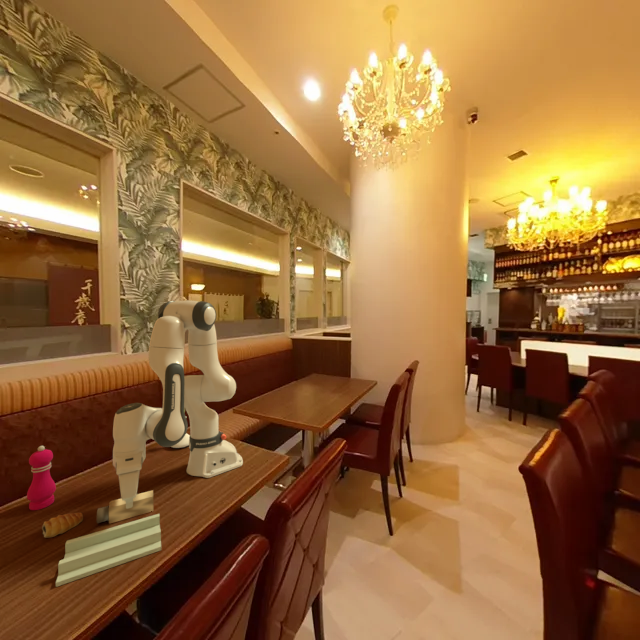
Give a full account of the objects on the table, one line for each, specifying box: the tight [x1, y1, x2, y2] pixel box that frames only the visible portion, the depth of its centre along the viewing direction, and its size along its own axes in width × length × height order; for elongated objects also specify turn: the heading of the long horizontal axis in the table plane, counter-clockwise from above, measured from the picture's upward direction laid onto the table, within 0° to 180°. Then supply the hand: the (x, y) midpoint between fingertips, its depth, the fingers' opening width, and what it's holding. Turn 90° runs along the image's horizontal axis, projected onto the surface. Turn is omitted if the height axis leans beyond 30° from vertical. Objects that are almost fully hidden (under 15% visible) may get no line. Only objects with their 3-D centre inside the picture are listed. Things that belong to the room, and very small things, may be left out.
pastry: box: [41, 512, 84, 539], centre depth 91 cm, size 9×7×4 cm
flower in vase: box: [171, 408, 191, 449], centre depth 147 cm, size 13×11×25 cm
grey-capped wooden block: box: [96, 489, 154, 525], centre depth 96 cm, size 15×4×5 cm, turn 120°
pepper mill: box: [26, 445, 57, 511], centre depth 102 cm, size 7×7×20 cm
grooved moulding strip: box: [55, 513, 162, 588], centre depth 82 cm, size 22×14×4 cm, turn 120°
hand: (129, 499), depth 96 cm, fingers open, 8 cm apart
